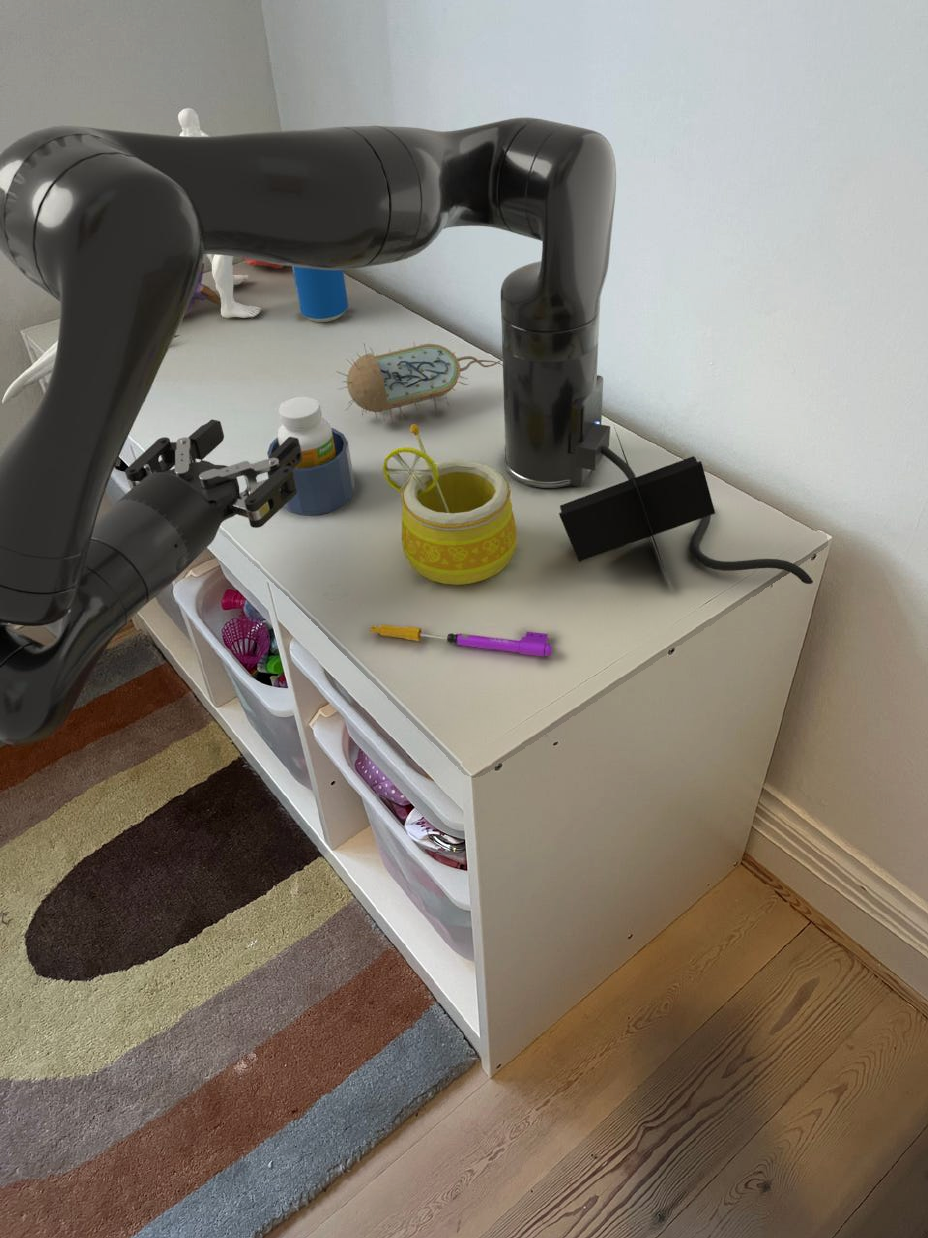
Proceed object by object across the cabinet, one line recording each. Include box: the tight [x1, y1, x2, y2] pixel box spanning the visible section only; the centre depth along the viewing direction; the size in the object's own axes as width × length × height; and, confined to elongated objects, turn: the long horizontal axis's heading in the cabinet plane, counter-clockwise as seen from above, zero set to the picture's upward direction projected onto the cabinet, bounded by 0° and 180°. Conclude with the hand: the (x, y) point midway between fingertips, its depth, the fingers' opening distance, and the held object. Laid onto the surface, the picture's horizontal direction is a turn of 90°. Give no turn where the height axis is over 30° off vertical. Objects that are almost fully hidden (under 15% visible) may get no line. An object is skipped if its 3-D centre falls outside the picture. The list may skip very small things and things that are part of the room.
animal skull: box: [1, 340, 58, 404], centre depth 123 cm, size 25×8×6 cm, turn 154°
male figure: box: [177, 107, 262, 319], centre depth 126 cm, size 13×7×25 cm, turn 27°
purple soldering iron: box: [369, 624, 553, 657], centre depth 83 cm, size 3×1×16 cm
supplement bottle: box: [277, 396, 336, 469], centre depth 97 cm, size 5×5×10 cm
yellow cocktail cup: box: [382, 423, 518, 586], centre depth 88 cm, size 13×11×12 cm
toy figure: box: [184, 262, 221, 316], centre depth 132 cm, size 12×8×5 cm
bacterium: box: [336, 343, 503, 427], centre depth 108 cm, size 11×20×10 cm, turn 113°
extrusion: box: [558, 423, 716, 580], centre depth 86 cm, size 12×12×10 cm
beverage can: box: [291, 266, 349, 323], centre depth 126 cm, size 6×6×12 cm
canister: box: [266, 427, 356, 516], centre depth 99 cm, size 8×8×6 cm
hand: (257, 436), depth 89 cm, fingers open, 8 cm apart
